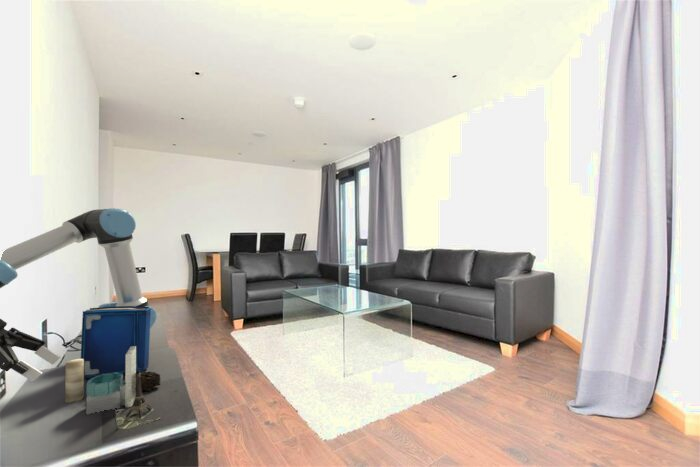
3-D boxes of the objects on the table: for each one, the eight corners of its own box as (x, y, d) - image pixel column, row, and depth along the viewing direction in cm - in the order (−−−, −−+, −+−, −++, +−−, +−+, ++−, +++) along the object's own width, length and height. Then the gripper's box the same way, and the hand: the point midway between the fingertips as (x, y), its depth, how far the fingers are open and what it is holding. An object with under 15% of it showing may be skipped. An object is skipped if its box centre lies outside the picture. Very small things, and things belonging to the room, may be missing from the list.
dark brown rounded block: (94, 403, 98) (94, 384, 98) (100, 393, 104) (100, 376, 105) (159, 390, 106) (159, 373, 106) (161, 382, 112) (161, 366, 112)
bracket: (92, 403, 98) (92, 351, 98) (135, 395, 103) (136, 345, 103) (83, 416, 90) (84, 360, 90) (131, 407, 95) (131, 354, 95)
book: (152, 365, 127) (153, 303, 127) (147, 372, 120) (147, 307, 120) (87, 373, 120) (88, 307, 120) (78, 381, 113) (79, 311, 114)
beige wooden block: (68, 397, 101) (68, 360, 101) (85, 394, 103) (85, 357, 103) (62, 403, 97) (63, 365, 98) (80, 400, 99) (81, 362, 99)
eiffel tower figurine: (112, 411, 94) (113, 366, 94) (152, 400, 100) (152, 358, 100) (118, 435, 82) (118, 384, 83) (162, 420, 89) (162, 373, 89)
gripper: (-7, 325, 101) (53, 364, 107) (-66, 350, 78) (14, 397, 85) (16, 307, 103) (73, 346, 109) (-35, 326, 81) (41, 373, 87)
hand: (48, 368), depth 97 cm, fingers open, 13 cm apart
